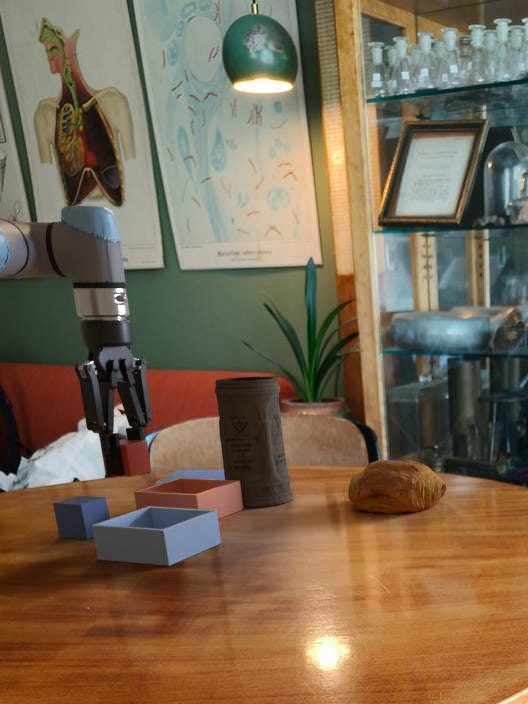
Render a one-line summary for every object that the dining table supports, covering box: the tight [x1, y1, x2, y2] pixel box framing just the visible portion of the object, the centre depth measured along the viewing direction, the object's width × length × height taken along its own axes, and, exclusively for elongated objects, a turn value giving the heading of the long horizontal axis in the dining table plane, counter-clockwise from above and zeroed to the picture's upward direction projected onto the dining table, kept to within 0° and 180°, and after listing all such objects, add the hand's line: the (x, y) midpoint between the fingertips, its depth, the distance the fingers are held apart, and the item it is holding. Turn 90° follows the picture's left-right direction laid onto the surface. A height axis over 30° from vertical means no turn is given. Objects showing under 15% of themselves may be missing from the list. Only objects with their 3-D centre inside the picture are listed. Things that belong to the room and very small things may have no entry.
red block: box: [101, 438, 152, 478], centre depth 142 cm, size 5×5×5 cm
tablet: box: [154, 469, 225, 485], centre depth 162 cm, size 19×13×1 cm, turn 88°
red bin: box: [133, 478, 244, 520], centre depth 136 cm, size 11×11×5 cm
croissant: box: [347, 459, 447, 514], centre depth 139 cm, size 14×16×8 cm
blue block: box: [52, 495, 111, 540], centre depth 127 cm, size 5×5×5 cm
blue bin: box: [91, 506, 222, 567], centre depth 117 cm, size 11×11×5 cm
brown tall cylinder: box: [214, 376, 294, 508], centre depth 145 cm, size 15×11×20 cm
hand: (128, 471), depth 143 cm, fingers closed on red block, 5 cm apart
